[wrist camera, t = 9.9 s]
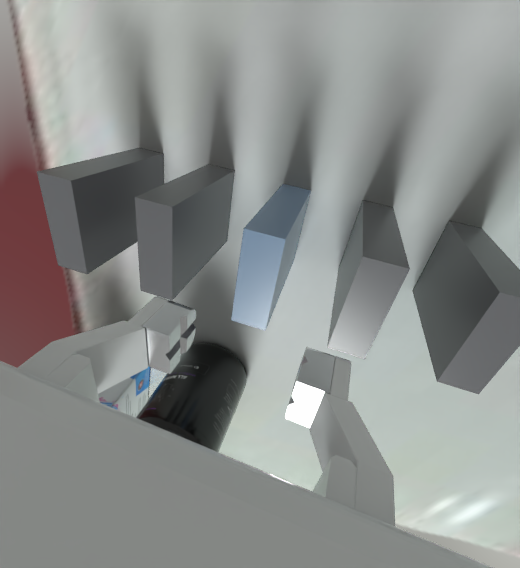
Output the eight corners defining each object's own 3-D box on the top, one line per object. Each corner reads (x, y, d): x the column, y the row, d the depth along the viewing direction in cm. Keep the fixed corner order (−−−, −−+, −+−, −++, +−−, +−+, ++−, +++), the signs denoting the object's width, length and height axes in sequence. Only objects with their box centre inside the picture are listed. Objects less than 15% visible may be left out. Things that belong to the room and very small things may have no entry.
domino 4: (393, 207, 19) (409, 268, 12) (364, 277, 21) (364, 359, 15) (362, 200, 19) (362, 256, 12) (338, 270, 22) (327, 347, 15)
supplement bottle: (193, 327, 28) (102, 453, 18) (260, 364, 28) (205, 510, 18) (173, 370, 32) (89, 493, 22) (232, 402, 32) (174, 540, 22)
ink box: (108, 341, 32) (-1, 447, 23) (152, 359, 32) (60, 475, 22) (110, 391, 37) (20, 496, 27) (148, 407, 37) (71, 520, 27)
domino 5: (481, 228, 18) (552, 305, 11) (440, 298, 21) (478, 394, 14) (448, 220, 18) (500, 292, 12) (412, 290, 21) (437, 381, 14)
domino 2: (234, 170, 20) (172, 206, 13) (226, 240, 23) (172, 300, 16) (208, 164, 20) (134, 197, 14) (203, 234, 23) (140, 290, 16)
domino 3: (310, 190, 19) (285, 239, 13) (293, 260, 22) (265, 330, 15) (283, 183, 20) (243, 228, 13) (269, 253, 22) (231, 320, 16)
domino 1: (163, 153, 21) (71, 180, 14) (164, 224, 23) (87, 274, 17) (139, 147, 21) (36, 171, 14) (142, 218, 24) (58, 265, 17)
